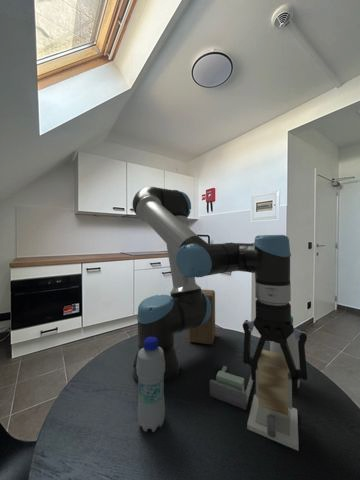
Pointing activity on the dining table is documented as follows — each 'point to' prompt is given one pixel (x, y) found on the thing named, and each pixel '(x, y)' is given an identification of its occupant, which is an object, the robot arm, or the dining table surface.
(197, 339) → the wooden block
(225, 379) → the cover
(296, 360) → the milk bottle
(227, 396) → the housing frame
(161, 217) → the robot arm
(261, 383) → the block
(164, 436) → the dining table surface
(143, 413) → the bottle
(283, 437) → the seat plate
